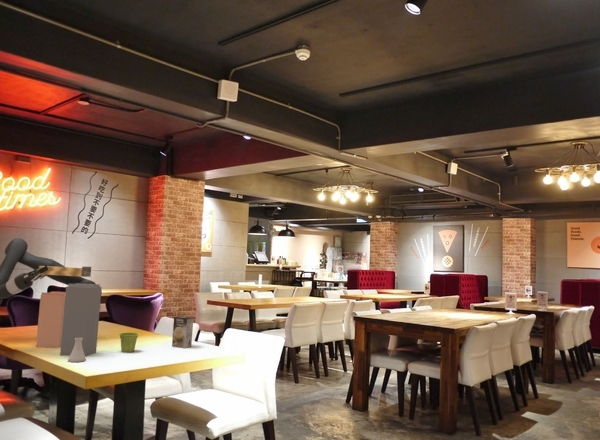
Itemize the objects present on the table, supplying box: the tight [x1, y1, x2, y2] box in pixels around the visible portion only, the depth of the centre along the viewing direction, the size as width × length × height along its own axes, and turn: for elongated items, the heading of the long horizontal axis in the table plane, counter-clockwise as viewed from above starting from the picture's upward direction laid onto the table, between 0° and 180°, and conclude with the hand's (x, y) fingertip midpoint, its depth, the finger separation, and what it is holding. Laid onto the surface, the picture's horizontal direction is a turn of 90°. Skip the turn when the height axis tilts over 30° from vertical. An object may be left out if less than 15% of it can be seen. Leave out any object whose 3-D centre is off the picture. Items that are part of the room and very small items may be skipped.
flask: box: [67, 338, 87, 363], centre depth 218 cm, size 7×7×10 cm
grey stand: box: [59, 283, 102, 357], centre depth 235 cm, size 12×11×33 cm
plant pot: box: [118, 332, 140, 353], centre depth 245 cm, size 9×9×9 cm
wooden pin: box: [39, 266, 92, 278], centre depth 238 cm, size 24×5×5 cm, turn 86°
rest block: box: [35, 291, 66, 349], centre depth 253 cm, size 12×10×27 cm
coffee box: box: [171, 315, 194, 349], centre depth 266 cm, size 9×6×16 cm
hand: (49, 267), depth 239 cm, fingers closed on wooden pin, 4 cm apart
